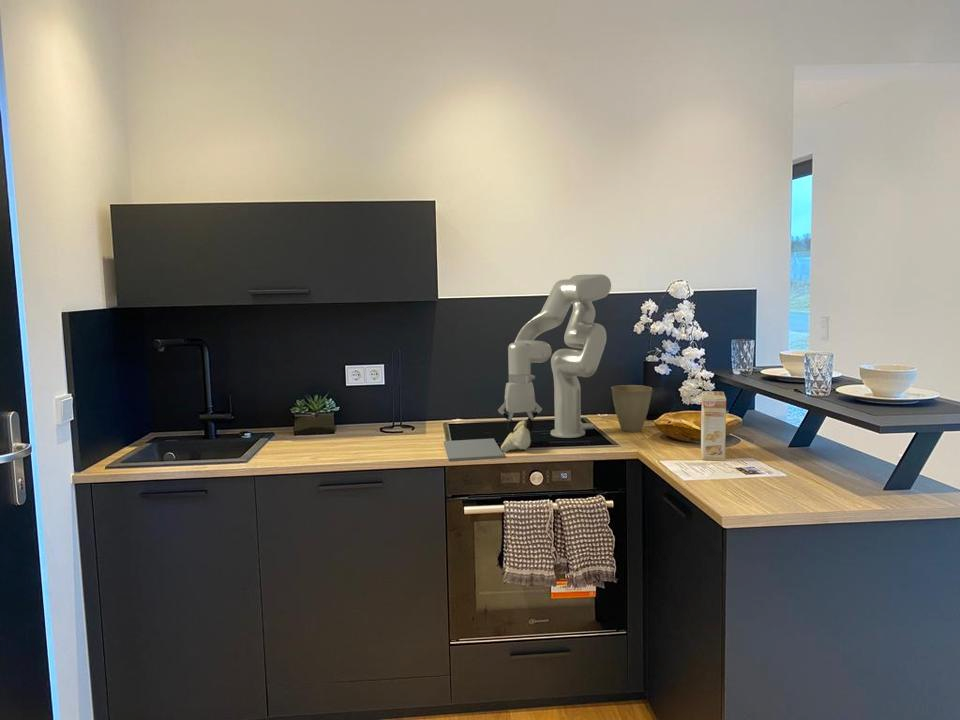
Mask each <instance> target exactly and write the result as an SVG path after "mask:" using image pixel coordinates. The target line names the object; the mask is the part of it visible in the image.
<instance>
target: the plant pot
mask: <svg viewBox="0 0 960 720" xmlns="http://www.w3.org/2000/svg"><path fill="white" fill-rule="evenodd" d="M610 388H611V395H612V401H613V406H614V409H615V410H614V412H615V415H616V419H617V421H618V424H619V426H620V429H621V430H622V431H623V432H629V433H634V432H635V433H637V432H640V431H642V429H643V427H644V424H645V421H646V419H647V415H648V412H649V409H650V404H651V398H652V393H653V392H652V391H653V387H651V386H647V385H641V384H640V385H638V384H627V385H626V384H625V385H624V384H623V385H622V384H621V385H615V386H611V387H610Z"/></svg>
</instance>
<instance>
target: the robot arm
mask: <svg viewBox="0 0 960 720" xmlns="http://www.w3.org/2000/svg"><path fill="white" fill-rule="evenodd" d="M611 282H612V281H611V279H610V278H609V276H607V275H605V274H602V273H601V274H599V273H598V274H577V275H574V276H571V277H570V278H567V279H560V280H557V281H556V282H555V283H554V285H553V287H552V289H551V291H550V293H549V294H548V296H547V299H546V301H545V303H544V304H543V306H542V309H541V311H540V312H539V313H537V314H536V315H535V316H533V317H532V318H531V319H530V320H529V321H528V322H526V323H525V324H524V325H523V326H522V328H520V331H518V333H517V336H516V338H515V340H514V342H511V343H510V344H509V345H508V347H507V351H508V353H507V356H508V358H507V359H508V360H507V362H508V382H506V383H505V388H504V402H503V404H502V405H501V406H500V407H499V408H498V409H497V412H498V413H499V414H500V415H501V416H503V417H504V418H505V419H506V420H507V430H508V431H509V432H510V433H513V430H514V421H513V416H514V414H515V413H518V414H520V413H527V417H528V418H527V419H526V423H527V426H526V428H527V429H528V430H529V432H530V433H531V432H532V430H533V429H534V428H533V427H534V426H533V423H534V422H533V420H534V419H535V418H536V417H537V416H538V415H539V413H541V412H542V410H543V408H542V407H541V406H540V405H539V404H538V403H537V402H536V397H535V396H536V395H535V389H534V383H533V382H532V380H536V375H535V374H534V375H533V374H531V372H532V370H531V369H532V367H531V364H533V363H536V364H537V363H538V364H541V363H545V362H547V361H549V359H550V365H551V372H552V374H553V386H554V387H553V388H554V389H553V390H554V393H553V396H554V397H553V398H554V403H553V404H554V429H551V430H550V436H552V437H555V438H562V439H573V438H580V437H583V436H586V431H585V430H593V429H595V425H594V423H589V422H585V423H583V421H582V419H581V415H582V413H581V411H582V409H581V394H582V393H581V392H582V391H581V384H580V381H579V379H578V377H581V378H590V377H591V376H593V375H594V374H595V373H596V372H597V369H598V367H599V364H600V362H601V359H602V356H603V353H604V350H605V346H606V344H607V331H606V329H605V327H604V325H602V324H600V323H596V322H594V321H595V318H596V309H595V306H594V305H593V302H596V301H597V300H601V299H604V298H606V297H607V296H608V295H609V294H610V292H611V289H612V283H611ZM571 306H572V312H571V315H570V317H569V319H568V320H569V321H568V324H567V327H566V329H565V332H564V336H563V339H564V340H563V341H564V344H565V345H566V346H567V347H570V348H560V349H557V350H556V351H554V353H553V352H552V347H551V345H550V344H549V343H548V342H546V341H544V340H543V341H542V340H535V339H536V338H537V337H539V336H540V335H541V334H543V333H545V332H547V331H549V330H553V329H554V328H556V327H559V326H560V325H562V324H563V322H564V320H565V317H566V316H567V313H568V311H569V309H570V307H571ZM552 353H553V354H552ZM504 410H506V412H507V413H506V412H505V411H504Z"/></svg>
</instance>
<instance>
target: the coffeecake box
mask: <svg viewBox="0 0 960 720" xmlns="http://www.w3.org/2000/svg"><path fill="white" fill-rule="evenodd" d="M700 413H701V414H700V415H701V417H700V418H701V419H700V421H701V423H700V451H701V458H702V461H716V462H718V461H719V462H721V461H722V462H725V461H726V440H727V439H726V436H727V435H726V433H727V431H726V430H727V397H726V395H725V392H724V391H718V390H717V391H716V390H715V391H713V390H705V391H704V390H702V391H701V412H700Z"/></svg>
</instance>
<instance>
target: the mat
mask: <svg viewBox="0 0 960 720" xmlns="http://www.w3.org/2000/svg"><path fill="white" fill-rule="evenodd" d="M443 446H444V448H445V453H446V455H447V456H446V457H447V460H448V461H449V462H453V461H455V462H456V461H457V462H458V461H471V460H473V461H474V460H487V459H488V460H489V459H491V460H493V459H504V458H505V455H504V453H503V451H502V450H501V447H500V446H499V445H498V443H497V442H496V440H495V438H477V439H475V438H474V439H462V440H444V441H443Z"/></svg>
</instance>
